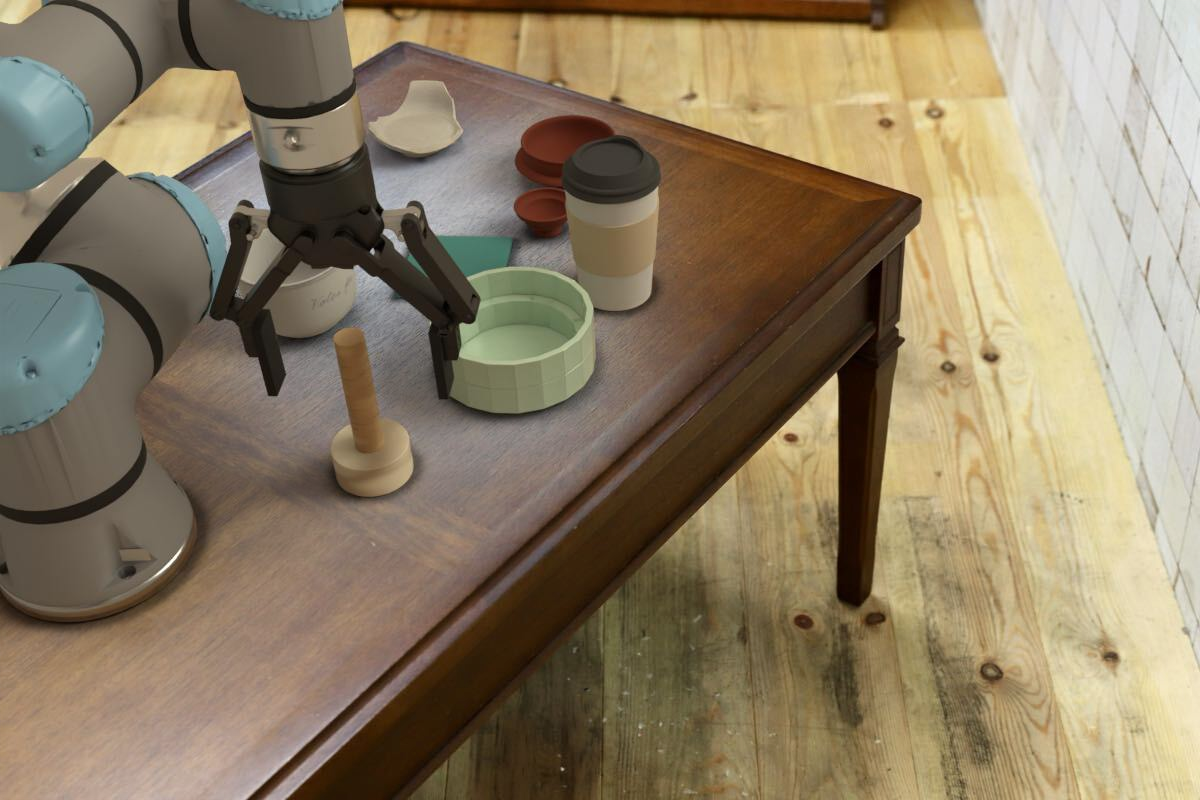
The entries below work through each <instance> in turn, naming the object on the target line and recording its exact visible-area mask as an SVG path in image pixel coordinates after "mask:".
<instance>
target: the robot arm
mask: <svg viewBox="0 0 1200 800" xmlns="http://www.w3.org/2000/svg"><path fill="white" fill-rule="evenodd" d="M40 2H41V6H40V8H38V9H37V10H36V11H34V12H33V13H32V14H31V15H29V16H28V17H26V18H25V19H23V21H21V22H18V23H9V22H4V21H0V592H1V593H2V595H3V597H4V598H5V599H6V600H7V602H8V603H9V604H10V605H12V607H14V608H15V609H17V610H18V611H20V612H22V613H24V614H26V615H27V616H30V617H32V618H35V619H39V620H43V621H49V622H58V623H75V622H87V621H92V620H97V619H101V618H105V617H108V616H112V615H115V614H118V613H122V612H123V611H126V610H128V609H131V608H132V607H134V606H137V605H138V604H141V603H142V602H144V601H146V600H148V599H149V598H151V597H152V596H153V595H155V594H156V593H158V592H159V591H161V590H162V589H163V588H165V586H168V584H169V583H170V582H171V581H172V580H174V578H175V577H176V576H177V575H178V574H179V573H180V572H181V570H182V569H183V568H184V567H185V565H186V563H187V562H188V560H189V558H190V557H191V555H192V552H193V550H194V547H195V545H196V540H197V535H198V534H197V533H198V524H197V523H198V522H197V520H196V514H195V512H194V509H193V506H192V502H191V500H190V498H189V496H188V494H187V492H186V491H185V489H184V488H183V487H182V486H181V484H180V483H179V482H178V481H177V480H176V479H175V478H174V477H173V476H172V475H171V474H169V473H168V472H167V470H166V469H165V468H164V467H163V465H162V464H161V463H160V462H159V461H158V460H157V459H156V457H155V456H154V455H153V454H152V453H151V452H150V450H149V449H148V448H147V446H146V442H145V439H144V437H143V433H142V431H141V428H140V427H141V426H140V424H139V422H138V418H137V416H136V412H135V405H136V401H137V399H138V398H139V397H140V395H141V394H142V393H143V392H144V390H145V389H146V388H147V386H148V385H149V384H150V383H151V381H152V380H153V379H154V378H155V377H156V376H157V374H158V373H159V372H160V371H161V370H162V368H163V367H164V366H165V365H166V363H167V362H169V360H170V358H171V357H172V356H173V355H174V353H175V352H176V351H177V349H179V347H180V346H181V344H183V342H184V341H185V339H186V338H187V337H188V336H189V335H190V333H191V332H192V331H193V330H194V328H195V327H197V325H199V324H200V323H201V322H202V321H203V319H204V318H205V317H206V316H209V318H211V319H212V320H214V321H217V322H222V321H223V320H227V321H231V322H233V323H234V325H236V326H237V327H238V330H239V334H240V337H241V341H242V344H243V348H244V352H245V354H246V356H248V358H257V359H258V364H259V368H260V370H261V376H262V379H263V382H264V386H265V390H266V394H267V397H278V396H279V394H280V391H281V389H282V387H283V384H284V381H285V379H286V377H287V372H286V371H287V370H286V368H285V363H284V360H283V355H282V352H281V347H280V343H279V340H278V335H277V334H276V331H275V327H274V323H273V319H272V315H271V311H270V309H263V308H264V306H265V305H266V304H267V302H268V301H269V300H270V299H271V297H272V296H273V295H274V294H275V292H276V291H277V290H278V288H279V287H280V286H281V285H282V283H283V282H284V281H285V279H286V278H287V277H288V276H290V275H291V273H292V272H293V271H294V270H295V268H296V267H297V266H298V264H299V263H300V262H301V261H302V262H303V263H305V264H307V265H311V269H324V268H328V267H336V268H340V269H353V268H354V269H355V267H356V266H358V267H359V268H360V269H361V270H363V271H364V273H366V274H368V275H369V276H370V277H372V278H378V279H380V280H381V281H382V282H383V283H384V284H385V285H387V286H388V287H389V288H391V290H392V291H394V292H395V294H396V293H398V294H399V295H400V296H401V297H402V298H401V299H404V300H405V301H406V303H408V304H409V305H410V306H412V307H413V308H414V309H415V310H416V311H417V312H419V313H420V314H421V315H422V316H424V318H426V319H427V320H428V321H429V320H430V321H431V325H430V324H429V329H428V333H427V335H428V340H429V347H430V353H431V358H432V359H431V360H432V366H433V371H434V379H435V384H436V389H437V397H438V400H440V401H441V400H442V401H444V400H445V401H449V399H450V397H451V396H450V392H451V388H452V384H453V381H454V373H453V366H452V360H453V361H457V359H458V357H459V353H460V350H461V346H462V341H461V334H460V327H459V324H461V323H465V324H472V323H474V322H475V320H476V317H477V313H478V309H479V305H480V301H481V298H480V296H479V295H478V293H477V292H476V290H475V289H474V288H473V286H472V285H471V284H470V282H469V281H468V279H467V278H466V277H465V275H464V274H463V273H462V271H461V270H460V268H459V267H458V266H457V264H456V263H455V262H454V260H453V259H452V257H451V256H450V255H449V253H448V252H447V251H446V249H445V248H444V247H443V245H442V244H441V242H440V241H439V240H438V238H437V237H436V236H437V235H436V234H435V232H434V231H433V230H432V228H430V225H429V222H428V219H427V214H426V212H425V208H424V205H423V204H422V203H421V202H420V201H418V200H414V199H412V200H410V201H409V202H408V203H406V207H405V208H396V209H395V208H394V209H384V208H383V206H382V205H381V204H380V202H379V200H378V198H377V191H376V184H375V179H374V174H373V168H372V161H371V157H370V151H369V146H368V144H367V143H366V137H367V133H366V128H365V127H366V126H365V122H364V117H363V112H362V107H361V101H360V96H359V89H358V84H357V80H356V77H355V76H356V75H355V73H354V71H355V70H354V68H353V63H352V56H351V55H352V54H351V48H350V45H349V44H350V43H349V36H348V30H347V24H346V17H345V11H344V4H343V3H344V0H41V1H40ZM171 69H185V70H187V69H188V70H199V71H212V72H221V71H225V72H226V71H227V72H228V71H229V72H234V73H235V74H236V78H237V80H238V84H239V88H240V92H241V94H242V98H243V102H244V106H245V110H246V115H247V118H248V123H249V128H250V132H251V136H252V141H253V145H254V148H255V149H254V150H255V153H256V155H257V156H258V158H259V162H258V166H259V172H260V175H261V179H262V180H261V181H262V185H263V188H264V192H265V197H266V201H267V204H268V206H269V209H265V208H256V207H255V206H254V205H255V204H253V202H252V201H251V200H248V199H241V200H239V202H237V204H236V207H235V208H234V211H233V212H232V214H231V216H230V218H229V220H228V223H227V225H228V233H229V239H230V240H229V241H230V244H229V248H228V251H227V250H226V249H227V247H226V241H227V240H226V237H225V235H224V232H223V230H222V227H221V224H220V223H219V221H218V220H217V218H216V216H215V214H214V213H213V212H212V210H211V208H209V206H208V205H207V203H205V202H204V200H203V199H202V198H201V197H200V196H199V195H197V193H196V192H194V191H193V190H192V189H191V188H190V187H188V186H186V185H185V184H183V183H182V182H180V181H179V180H178V179H175V178H173V177H171V176H168V175H165V174H159V175H157V176H156V175H155V174H154V173H153V172H151V171H142V172H136V173H133V174H127V175H125V174H124V173H122V172H121V171H120V170H119V169H117V168H115V166H114V165H112V164H111V163H110V162H108V161H107V160H106V159H105V158H103V157H102V156H99V157H80V156H81V155H82V154H83V153H84V152H85V151H86V150H87V149H88V146H89V145H90V144H91V143H92V142H93V141H94V140H95V139H96V138H97V137H98V136H99V135H100V134H101V133H102V132H103V131H104V130H105V129H106V128H107V127H108V126H109V125H110V124H111V123H112V122H113V121H114V120H115V119H117V118H118V116H119V115H121V114H122V113H123V112H124V111H125V110H127V108H128V107H130V105H132V104H133V103H135V101H136V100H138V99H139V98H140V97H141V96H142V95H143V94H144V93H145V92H146V91H147V90H149V88H151V86H152V85H154V83H156V82H157V81H158V80H159V79H160V78H161V77H162V76H163V75H165V73H166V72H167V71H168V70H171ZM265 228H268V229H269V231H270V232H271V233H272V234H273V235H274V236H275V237H276V238H277V239H278V240H279V241H280V242H281V243H282V244H283V245H284V247H283V248H282V250H281V251H280V252H279V254H278V255H277V256H276V258H275V259H274V260H273V261H272V263H271V264H270V265H269V267H268V268H267V269H266V271H265V272H264V273H263V275H262V276H261V277H260V279H259V280H258V281H257V282H256V284H255V285H254V286H253V288H252V289H251V290H250V292H249V293H247V294H246V296H245V298H244V299H243V298H241V297H238V296H236V294H237V291H238V289H239V287H238V285H239V282H240V279H241V276H242V273H243V270H244V267H245V264H246V261H247V258H248V255H249V252H250V249H251V246H252V243H253V240H254V239H257V238H259V236H260V235H261V233H262V231H263V229H265ZM385 230H390V231H392V232H393V233H394V234H395V236H396V238H397V241H398V242H400V243H403V242H404V243H405V245H406V248H407V249H408V251H409V253H411V254H412V256H413V257H414V259H415V260H416V261H417V263H418V264H419V265H420V267H421V268H422V269H423V271H424V272H425V273H426V275H427V276H428V277H429V278H428V277H427V276H426V275H424V274H423V273H422V272H421V271H420V270H419V269H418V268H416V267H415V266H414V265H413V264H412V263H411V262H409V261H408V260H407V259H408V258H406V257H405V256H404V255H403V254H401V252H399V250H397V249H396V248H395V244H394V243H393V241H392V240H391V239H390V238H389V237H388V236H386V235H385V234H384V231H385ZM372 249H373V251H374V253H371V251H372Z"/></svg>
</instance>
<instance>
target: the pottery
mask: <svg viewBox="0 0 1200 800" xmlns="http://www.w3.org/2000/svg"><path fill="white" fill-rule="evenodd" d="M613 135H617V134H616V132H615V130H614V129H613V127H612V126H611V125H610V124H608V123H607V122H605V121H603V120H600V119H599V118H596V117H591V116H588V115H579V114H567V115H566V114H565V115H558V116H553V117H548V118H545V119H542V120H539V121H538V122H535V123H534V124H533V123H532V125H530V126H529V127H527V129H525V131H524V132H523V134H522V135H521V138H520V147H519V149H518V150H517V151H516V153H515V157H514V165H515V168H516V170H517V171H518V173H519V174H520V175H521V176H523V177H524V178H525V179H527V180H528V181H531V182H534V183H535V184H539V185H541V186H546V187H538V188H534V189H530V190H527V191H525V192H524V193H522V194H520V195H519V196H518V197H516V199H515V200H514V203H513V211H514V213H515V215H516V217H518V219H520V220H521V221H522V222H524V224H525V225H526V226H528V227H529V228H531V229H532V233H533V234H534V235H535V236H537V237H538V238H543V239H544V238H545V239H548V238H553V237H556V236H558V235H559V234H560V233H562V226H564V225H565V224H566V223H568V219H567V212H566V206H565V201H566V194H565V189H564V188H563V186H562V183H561V176H562V167H563V164H564V162H565V161H566V159H567V158H568V157H569V156H571V155H572V154H573V153H574V152H575V151H576V150H577V149H578V148H579V147H580V146H582V145H584V144H586V143H589V142H592V141H595V140H601V139H606V138H608V137H610V136H613Z"/></svg>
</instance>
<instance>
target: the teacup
mask: <svg viewBox="0 0 1200 800" xmlns="http://www.w3.org/2000/svg"><path fill="white" fill-rule="evenodd" d="M283 247H284V245H283V244H282V243H281V242H280V241H279V240H278V239H277V238H276V237H275V236H274V235H273V234H272V233H271V232H270V231H269V229H268V228H265V229H263V231H262V233H261V235H260V236H259V238H257V239H254V240H253V243H252V246H251V249H250V252H249V255H248V258H247V261H246V264H245V267H244V270H243V273H242V276H241V279H240V282H239V285H238V289H239V292H240V295H241V297H242V299H244V298H245V296H246V294H247V293H249V292H250V290H251V289H252V288H253V286H254V285H255V284H256V282H257V281H258V280H259V279H260V277H261V276H262V275H263V273H264V272H265V271H266V269H267V268H268V267H269V265H270V264H271V263H272V261H273V260H274V259H275V258H276V256H277V255H278V254H279V252H280V251H281V250H282V248H283ZM357 289H358V288H357V278H356V273H355V267H354V268H353V269H340V268H336V267H328V268H324V269H311V265H307V264H305V263H303V262H302V261H301V262H300V263H299V264H298V266H297V267H296V268H295V270H294V271H293V272H292V273H291V275H290V276H288V277H287V278H286V279H285V281H284V282H283V283H282V285H281V286H280V287H279V288H278V290H277V291H276V292H275V294H274V295H273V296H272V297H271V299H270V300H269V301H268V302H267V304H266V305H265V306H264V308H263V309H270V311H271V315H272V319H273V323H274V327H275V331H276V335H277V336H282V337H286V338H293V339H304V338H311V337H315V336H318V335H321V334H324V333H325V332H328V331H329V330H331V329H332V328H334V327H335V326H336V325H337V324H338V323H339V322H340V321H341V320H342V319H344V317H345V316H347V314H348V313H349V312H350V310H351V309H352V307H353V305H354V303H355V300H356V297H357Z"/></svg>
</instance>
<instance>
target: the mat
mask: <svg viewBox="0 0 1200 800" xmlns="http://www.w3.org/2000/svg"><path fill="white" fill-rule="evenodd" d="M435 236H436V237H437V238H438V240H439V241H440V242H441V244H442V245H443V247H444V248H445V249H446V251H447V252H448V253H449V255H450V256H451V257H452V259H453V260H454V262H455V263H456V264H457V266H458V267H459V268H460V270H461V271H462V273H463V274H464V275H465V277H469V276H472V275H475V274H477V273H480V272H483V271H486V270H492V269H498V268H504V267H508V264H509V260H510V256H511V252H512V247H513V243H514V238H513V236H475V235H474V236H473V235H471V236H470V235H435ZM406 259H407V260H408V261H409V262H411V263H412V264H413V265H414V266H415V267H416V268H418V269H419V270H420V271H421V272H422V273H423V274H424V275H426V273H425V272H424V271H423V269H422V268H421V267H420V265H419V264H418V263H417V261H416V260H415V259H414V257H413V256H412V254H411V253H410V252H409V253H408V256H407V258H406ZM426 276H427V275H426ZM427 277H428V276H427ZM428 278H429V277H428ZM395 296H396V298H397V299H403V298H402V297H401V296H400V295H399V294H398V293H396V292H395Z"/></svg>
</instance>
